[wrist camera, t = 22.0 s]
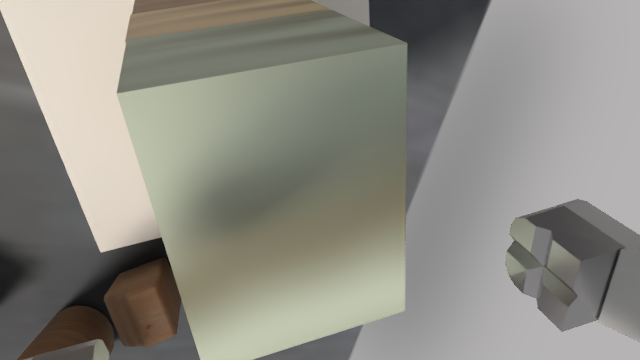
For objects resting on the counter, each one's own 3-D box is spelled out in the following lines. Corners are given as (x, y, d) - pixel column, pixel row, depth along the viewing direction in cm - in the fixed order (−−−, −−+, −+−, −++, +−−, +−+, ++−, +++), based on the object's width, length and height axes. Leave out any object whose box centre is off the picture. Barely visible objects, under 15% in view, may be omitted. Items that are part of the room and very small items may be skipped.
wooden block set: (215, 181, 31) (222, 197, 21) (259, 299, 32) (284, 367, 22) (-84, 286, 27) (-250, 366, 17) (-21, 414, 28) (-142, 559, 18)
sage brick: (126, 40, 13) (116, 93, 9) (331, 9, 14) (407, 43, 10) (191, 263, 17) (205, 374, 13) (345, 223, 18) (404, 310, 14)
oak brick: (130, 14, 17) (124, 41, 13) (287, -10, 18) (329, 8, 14) (183, 197, 21) (192, 264, 17) (310, 167, 22) (347, 221, 18)
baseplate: (-44, -120, 19) (-55, -123, 18) (353, -149, 22) (363, -153, 21) (102, 240, 27) (100, 252, 26) (367, 175, 31) (375, 183, 30)
